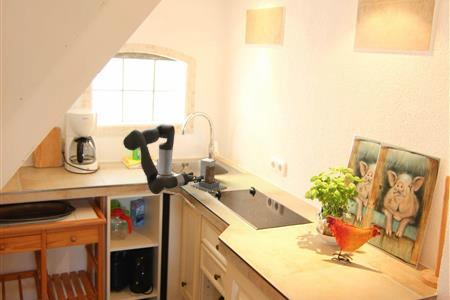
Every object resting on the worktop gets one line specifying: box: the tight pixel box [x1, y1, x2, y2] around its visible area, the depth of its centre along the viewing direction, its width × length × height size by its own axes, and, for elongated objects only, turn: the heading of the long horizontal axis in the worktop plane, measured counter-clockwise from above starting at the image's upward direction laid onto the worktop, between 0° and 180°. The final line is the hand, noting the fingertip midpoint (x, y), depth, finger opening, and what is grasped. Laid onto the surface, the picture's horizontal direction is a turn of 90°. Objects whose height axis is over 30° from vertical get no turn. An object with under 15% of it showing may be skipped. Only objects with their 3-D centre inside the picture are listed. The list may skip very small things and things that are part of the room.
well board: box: [190, 179, 228, 193], centre depth 293 cm, size 16×16×3 cm
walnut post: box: [204, 165, 216, 184], centre depth 292 cm, size 4×4×13 cm
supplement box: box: [199, 157, 216, 180], centre depth 311 cm, size 7×7×13 cm
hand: (198, 175), depth 283 cm, fingers open, 8 cm apart
